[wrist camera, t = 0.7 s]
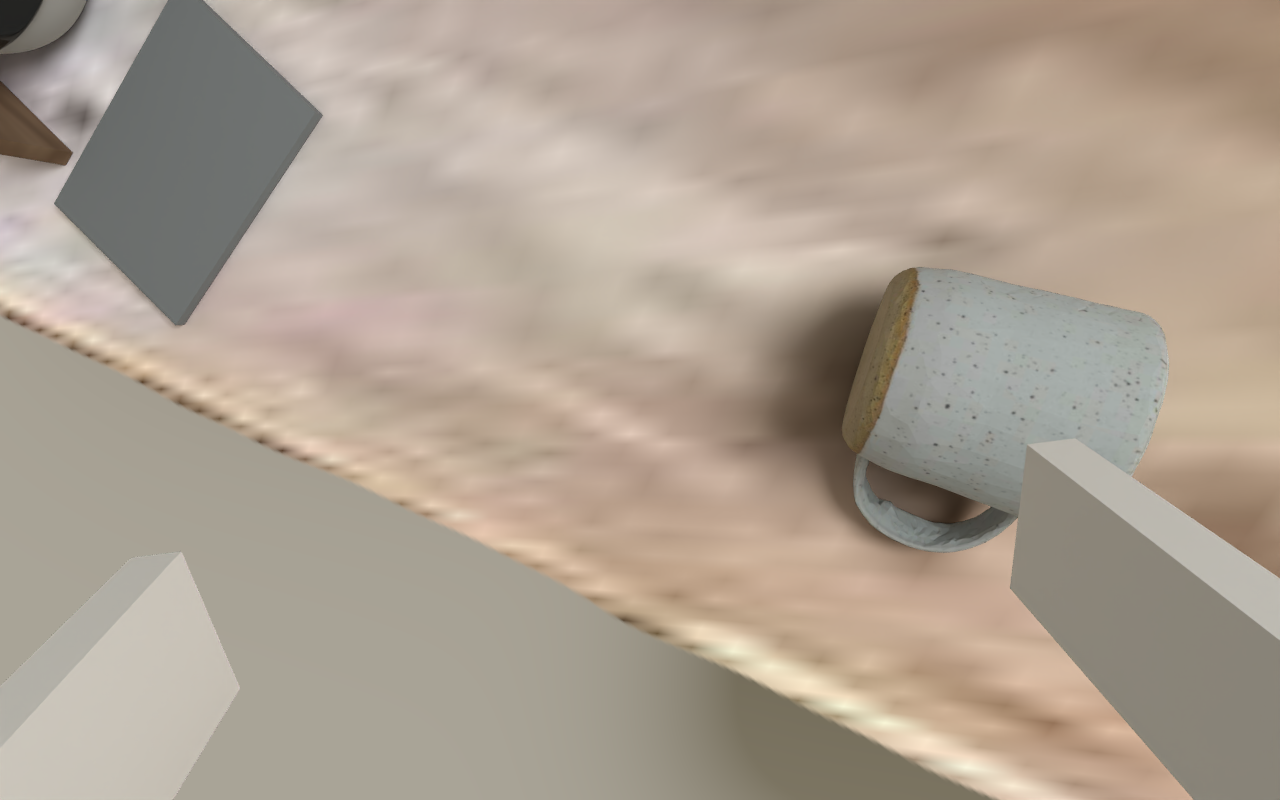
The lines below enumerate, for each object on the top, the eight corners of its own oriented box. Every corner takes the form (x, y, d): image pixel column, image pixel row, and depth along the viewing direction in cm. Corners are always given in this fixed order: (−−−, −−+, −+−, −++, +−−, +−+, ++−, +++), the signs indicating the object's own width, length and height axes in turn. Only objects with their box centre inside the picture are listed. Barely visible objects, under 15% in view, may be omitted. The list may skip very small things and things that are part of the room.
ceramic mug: (883, 258, 28) (911, 252, 21) (1103, 310, 26) (1218, 323, 19) (807, 503, 30) (807, 577, 23) (1006, 563, 29) (1074, 662, 21)
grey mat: (187, -14, 33) (178, -19, 32) (322, 115, 32) (315, 112, 32) (63, 204, 36) (54, 203, 36) (184, 324, 36) (175, 324, 35)
